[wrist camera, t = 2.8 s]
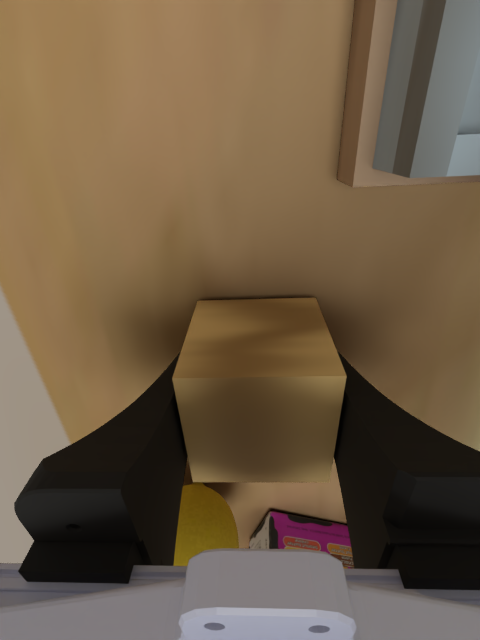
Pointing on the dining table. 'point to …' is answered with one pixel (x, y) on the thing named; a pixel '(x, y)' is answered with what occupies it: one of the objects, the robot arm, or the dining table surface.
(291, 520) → the candy bar box
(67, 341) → the dining table surface
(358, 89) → the grey storage bin
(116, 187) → the dining table surface
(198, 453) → the wooden block
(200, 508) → the lemon
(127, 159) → the dining table surface
